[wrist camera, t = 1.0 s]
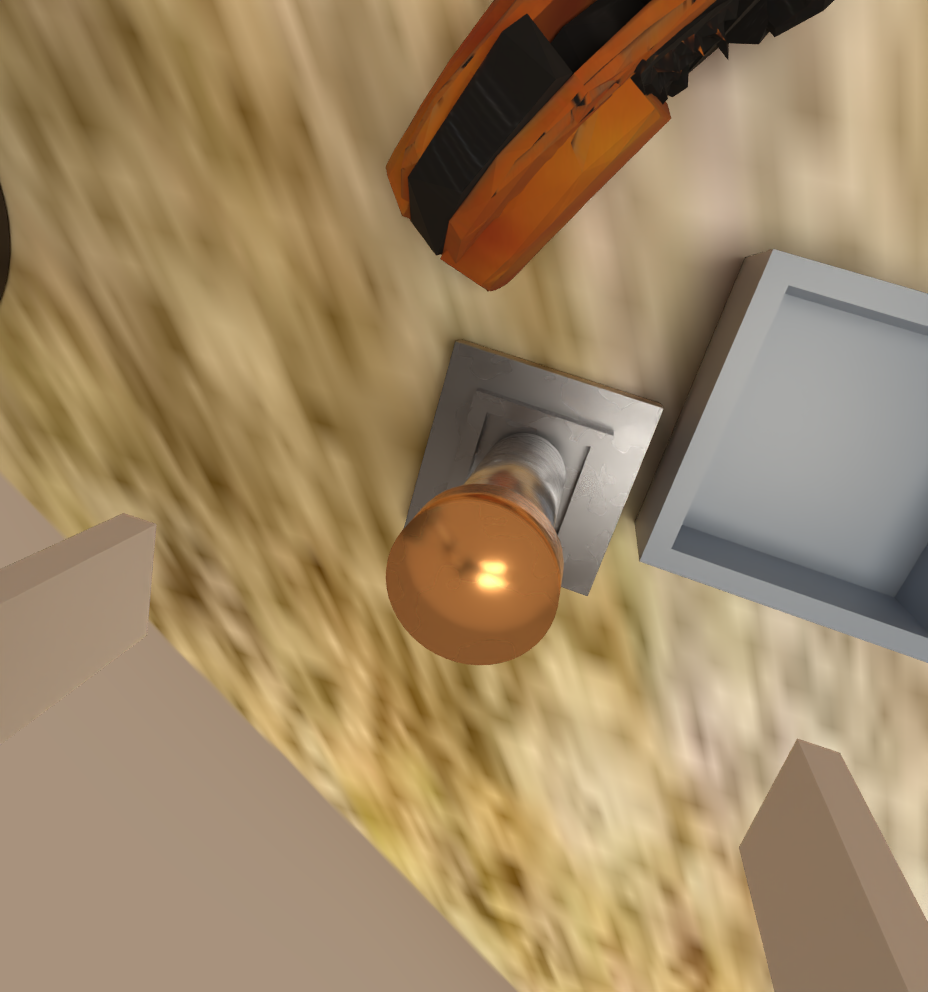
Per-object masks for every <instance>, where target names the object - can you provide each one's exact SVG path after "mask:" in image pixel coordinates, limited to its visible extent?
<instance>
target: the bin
mask: <svg viewBox="0 0 928 992" xmlns="http://www.w3.org/2000/svg"><path fill="white" fill-rule="evenodd" d="M635 529H636V537H637V546H638V554H639V561H640V562H643V563H646V564H648V565H651V566H654V567H657V568H660V569H663V570H665V571H668V572H671V573H674V574H677V575H680V576H683V577H685V578H688V579H691V580H694V581H697V582H700V583H702V584H705V585H708V586H711V587H714V588H717V589H719V590H722V591H725V592H728V593H731V594H734V595H737V596H739V597H742V598H745V599H748V600H751V601H754V602H756V603H759V604H762V605H765V606H768V607H771V608H773V609H776V610H779V611H782V612H785V613H788V614H791V615H793V616H796V617H799V618H802V619H805V620H808V621H810V622H813V623H816V624H819V625H822V626H825V627H827V628H830V629H833V630H836V631H839V632H842V633H844V634H847V635H850V636H853V637H856V638H859V639H862V640H864V641H867V642H870V643H873V644H876V645H879V646H881V647H884V648H887V649H890V650H893V651H896V652H898V653H901V654H904V655H907V656H910V657H913V658H916V659H918V660H921V661H924V662H927V663H928V294H927V293H924V292H920V291H917V290H914V289H910V288H907V287H903V286H900V285H896V284H893V283H889V282H886V281H882V280H879V279H876V278H872V277H869V276H865V275H862V274H858V273H855V272H851V271H848V270H844V269H841V268H838V267H834V266H831V265H827V264H824V263H820V262H817V261H813V260H810V259H807V258H803V257H800V256H796V255H793V254H789V253H786V252H782V251H779V250H775V249H772V250H768V251H765V252H762V253H758V254H755V255H752V256H748V257H745V259H744V261H743V264H742V266H741V269H740V271H739V273H738V276H737V278H736V281H735V283H734V285H733V288H732V290H731V293H730V295H729V297H728V300H727V302H726V305H725V307H724V310H723V312H722V314H721V317H720V319H719V322H718V324H717V326H716V329H715V331H714V334H713V336H712V338H711V341H710V343H709V346H708V348H707V350H706V353H705V355H704V358H703V360H702V362H701V365H700V367H699V370H698V372H697V374H696V377H695V379H694V382H693V384H692V386H691V389H690V391H689V394H688V396H687V398H686V401H685V403H684V406H683V408H682V410H681V413H680V415H679V418H678V420H677V422H676V425H675V427H674V430H673V432H672V434H671V437H670V439H669V442H668V444H667V447H666V449H665V451H664V454H663V456H662V459H661V461H660V463H659V466H658V468H657V471H656V473H655V475H654V478H653V480H652V483H651V485H650V487H649V490H648V492H647V495H646V497H645V499H644V502H643V504H642V507H641V509H640V511H639V514H638V516H637V519H636V521H635Z"/></svg>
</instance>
